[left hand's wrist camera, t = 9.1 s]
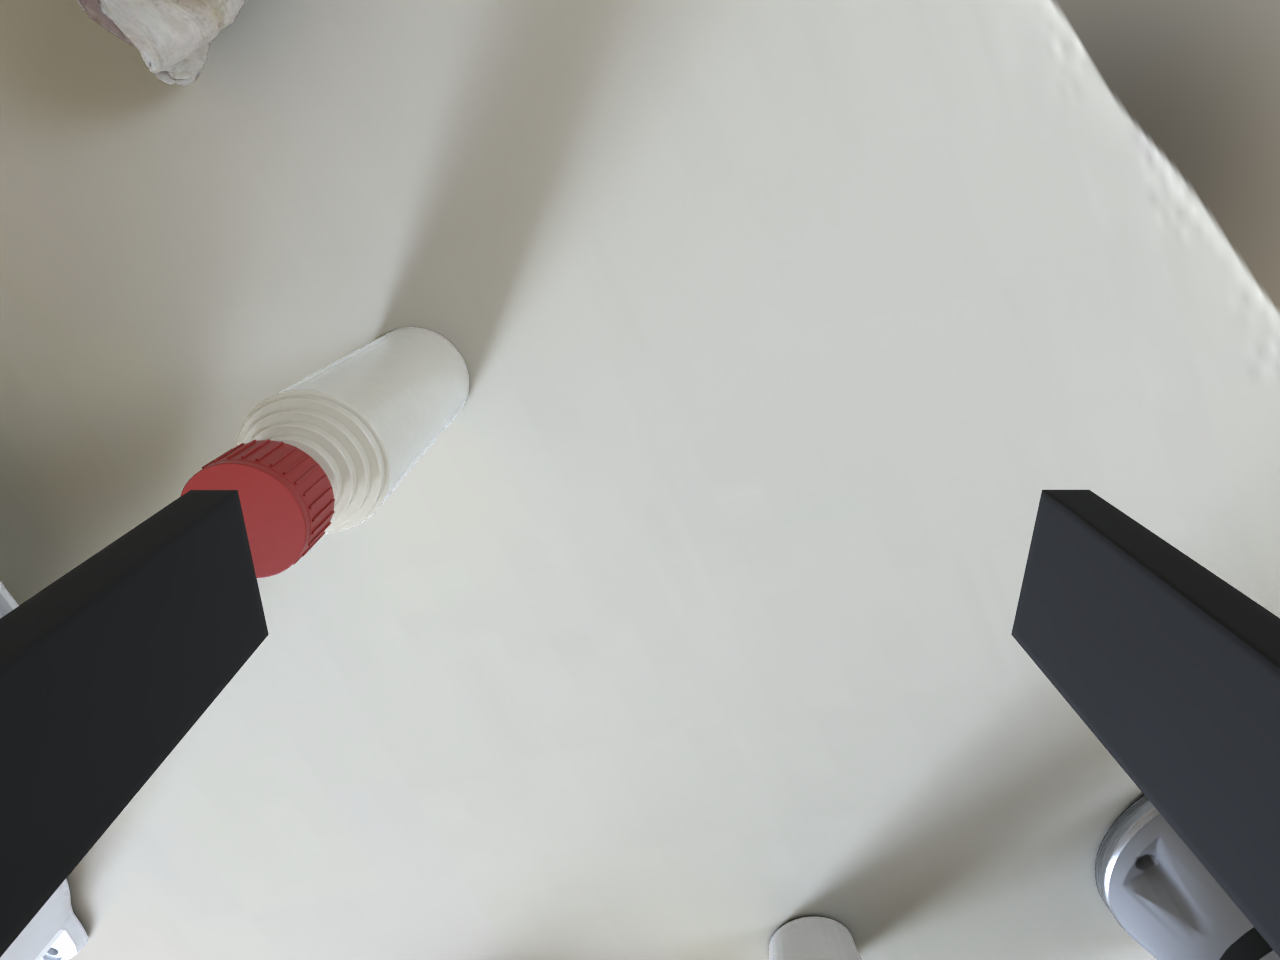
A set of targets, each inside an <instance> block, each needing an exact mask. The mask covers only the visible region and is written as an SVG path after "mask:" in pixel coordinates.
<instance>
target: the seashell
mask: <svg viewBox="0 0 1280 960" xmlns="http://www.w3.org/2000/svg"><path fill="white" fill-rule="evenodd" d="M77 1H78V3H79V5H80V6H81V7H82V8H83V10H84V11H85V12H86V13H87V14H88V15H89V17H90V18H92V19H93V20H94V21H96V22H97V23H98V24H100V25H101V26H102V27H104V28H105V29H106V30H108V31H110V32H111V33H113V34H115V35H116V36H118V37H119V38H121V39H123V40H124V41H126V42H128V43H129V44H131V45H132V46H134V47H136V48H137V49H138V50H139V52H140V54H141V56H142V59H143V60H144V62H145V63H146V65H147V66H148V68H149V69H150V72H153V74H154V75H155V76H156V77H157V78H158V79H159V80H161V81H163V82H165V83H167V84H169V85H172V84H174V83H175V84H178V85H180V86H185V85H188V84H190V83H192V82H194V81H195V80H196V79H197V78H198V76H199V74H200V72H201V70H202V66H203V65H204V63H205V62H206V58H207V54H208V49H209V45H210V42H211V41H212V40H213V39H214V38H215V37H216V36H217V35H218V34H219V33H220V31H221V30H223V29H224V28H226V27H227V26H229V25H230V24H232V22H233V21H234V19H235V17H236V16H237V14H238V12H239V11H240V9H241V7H242V6H243V4H244V2H245V1H246V0H77Z"/></svg>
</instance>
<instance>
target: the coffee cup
mask: <svg viewBox="0 0 1280 960" xmlns="http://www.w3.org/2000/svg"><path fill="white" fill-rule="evenodd" d="M769 960H861V958H860V955H859V953H858V950H857V948H856V946H855V943H854V941H853V938H852V936H851V934H850V932H849V931H848V929H847V928H846V927H845V926H843V925H842V924H841V923H839V922H837V921H835V920H832V919H829V918H825V917H803V918H799V919H796V920H793V921H791V922H788V923H786V924H785V925H783V926H782V927H780V928H779V929H778V930H777V931H776V932H775V934H774V935H773V937H772V938H771V941H770V943H769Z"/></svg>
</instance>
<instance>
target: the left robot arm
mask: <svg viewBox="0 0 1280 960" xmlns="http://www.w3.org/2000/svg"><path fill="white" fill-rule="evenodd" d="M267 636H268V630H267V626H266V621H265V616H264V611H263V607H262V602H261V597H260V593H259V588H258V583H257V578H256V574H255V569H254V564H253V560H252V555H251V550H250V545H249V541H248V536H247V531H246V527H245V522H244V517H243V513H242V508H241V503H240V498H239V494H238V490H190V491H188V492H187V493H185V494H184V495H183V496H181V497H180V498H178V499H177V500H175V501H174V502H172V503H171V504H169V505H168V506H166V507H165V508H163V509H162V510H160V511H159V512H157V513H156V514H154V515H153V516H151V517H150V518H148V519H147V520H145V521H144V522H143V523H141V524H140V525H138V526H137V527H135V528H134V529H132V530H131V531H129V532H128V533H126V534H125V535H123V536H122V537H120V538H119V539H117V540H116V541H114V542H113V543H111V544H110V545H108V546H107V547H105V548H104V549H103V550H101V551H100V552H98V553H97V554H95V555H94V556H92V557H91V558H89V559H88V560H86V561H85V562H83V563H82V564H80V565H79V566H77V567H76V568H74V569H73V570H71V571H70V572H68V573H67V574H65V575H64V576H63V577H61V578H60V579H58V580H57V581H55V582H54V583H52V584H51V585H49V586H48V587H46V588H45V589H43V590H42V591H40V592H39V593H37V594H36V595H34V596H33V597H31V598H30V599H28V600H27V601H25V602H24V603H23V604H21V605H20V606H18V607H17V608H15V609H14V610H12V611H11V612H9V613H8V614H6V615H5V616H3V617H2V618H0V957H1V956H2V955H3V954H4V953H5V951H6V950H7V949H8V948H9V947H10V945H11V944H12V943H13V942H14V940H15V939H16V938H17V937H18V936H19V934H20V933H21V932H22V931H23V930H24V928H25V927H26V926H27V925H28V924H29V922H30V921H31V920H32V919H33V918H34V916H35V915H36V914H37V913H38V912H39V910H40V909H41V908H42V907H43V906H44V904H45V903H46V902H47V901H48V900H49V898H50V897H51V896H52V895H53V893H54V892H55V891H56V890H57V889H58V887H59V886H60V885H61V884H62V883H63V881H64V880H65V879H66V878H67V877H68V875H69V874H70V873H71V872H72V871H73V869H74V868H75V867H76V866H77V865H78V863H79V862H80V861H81V860H82V859H83V857H84V856H85V855H86V854H87V853H88V851H89V850H90V849H91V848H92V846H93V845H94V844H95V843H96V842H97V840H98V839H99V838H100V837H101V836H102V834H103V833H104V832H105V831H106V830H107V828H108V827H109V826H110V825H111V824H112V822H113V821H114V820H115V819H116V818H117V816H118V815H119V814H120V813H121V812H122V810H123V809H124V808H125V807H126V806H127V804H128V803H129V802H130V801H131V799H132V798H133V797H134V796H135V795H136V793H137V792H138V791H139V790H140V789H141V787H142V786H143V785H144V784H145V783H146V781H147V780H148V779H149V778H150V777H151V775H152V774H153V773H154V772H155V771H156V769H157V768H158V767H159V766H160V765H161V763H162V762H163V761H164V760H165V759H166V757H167V756H168V755H169V754H170V752H171V751H172V750H173V749H174V748H175V746H176V745H177V744H178V743H179V742H180V740H181V739H182V738H183V737H184V736H185V734H186V733H187V732H188V731H189V730H190V728H191V727H192V726H193V725H194V724H195V722H196V721H197V720H198V719H199V718H200V716H201V715H202V714H203V713H204V712H205V710H206V709H207V708H208V707H209V705H210V704H211V703H212V702H213V701H214V699H215V698H216V697H217V696H218V695H219V693H220V692H221V691H222V690H223V689H224V687H225V686H226V685H227V684H228V683H229V681H230V680H231V679H232V678H233V677H234V675H235V674H236V673H237V672H238V671H239V669H240V668H241V667H242V666H243V665H244V663H245V662H246V661H247V660H248V658H249V657H250V656H251V655H252V654H253V652H254V651H255V650H256V649H257V648H258V646H259V645H260V644H261V643H262V642H263V640H264V639H265V638H266V637H267ZM1012 636H1013V637H1014V638H1015V639H1016V640H1017V642H1018V643H1019V644H1020V645H1021V646H1022V648H1023V649H1024V650H1025V651H1026V652H1027V654H1028V655H1029V656H1030V657H1031V658H1032V660H1033V661H1034V662H1035V663H1036V665H1037V666H1038V667H1039V668H1040V669H1041V671H1042V672H1043V673H1044V674H1045V675H1046V677H1047V678H1048V679H1049V680H1050V681H1051V683H1052V684H1053V685H1054V686H1055V687H1056V689H1057V690H1058V691H1059V692H1060V693H1061V695H1062V696H1063V697H1064V698H1065V699H1066V701H1067V702H1068V703H1069V704H1070V705H1071V707H1072V708H1073V709H1074V710H1075V712H1076V713H1077V714H1078V715H1079V716H1080V718H1081V719H1082V720H1083V721H1084V722H1085V724H1086V725H1087V726H1088V727H1089V728H1090V730H1091V731H1092V732H1093V733H1094V734H1095V736H1096V737H1097V738H1098V739H1099V740H1100V742H1101V743H1102V744H1103V745H1104V746H1105V748H1106V749H1107V750H1108V751H1109V752H1110V754H1111V755H1112V756H1113V757H1114V759H1115V760H1116V761H1117V762H1118V763H1119V765H1120V766H1121V767H1122V768H1123V769H1124V771H1125V772H1126V773H1127V774H1128V775H1129V777H1130V778H1131V779H1132V780H1133V781H1134V783H1135V784H1136V785H1137V786H1138V787H1139V789H1140V790H1141V791H1142V792H1143V793H1144V796H1143V797H1141V798H1140V799H1139V800H1137V801H1136V802H1135V803H1134V804H1132V805H1131V806H1130V807H1129V808H1128V809H1127V810H1126V811H1125V812H1124V813H1123V814H1122V815H1121V816H1120V817H1119V818H1118V819H1117V820H1116V821H1115V823H1114V824H1113V825H1112V826H1111V828H1110V829H1109V831H1108V832H1107V834H1106V836H1105V837H1104V839H1103V841H1102V843H1101V845H1100V848H1099V851H1098V854H1097V858H1096V864H1095V878H1096V884H1097V887H1098V890H1099V893H1100V895H1101V897H1102V899H1103V900H1104V902H1105V903H1106V905H1107V906H1108V908H1109V909H1110V911H1111V912H1112V914H1113V916H1114V917H1115V919H1116V920H1117V921H1118V923H1119V924H1120V925H1121V926H1122V928H1123V929H1124V930H1125V931H1126V932H1127V933H1128V934H1129V935H1130V936H1131V937H1132V938H1133V939H1134V940H1135V941H1137V942H1138V943H1139V944H1140V945H1141V946H1142V947H1144V948H1145V949H1146V950H1147V951H1148V952H1149V953H1150V954H1152V955H1153V956H1154V957H1155V958H1156V959H1157V960H1280V618H1278V617H1277V616H1275V615H1274V614H1272V613H1271V612H1269V611H1268V610H1266V609H1265V608H1263V607H1262V606H1260V605H1259V604H1257V603H1256V602H1255V601H1253V600H1252V599H1250V598H1249V597H1247V596H1246V595H1244V594H1243V593H1241V592H1240V591H1238V590H1237V589H1235V588H1234V587H1232V586H1231V585H1229V584H1228V583H1226V582H1225V581H1223V580H1222V579H1220V578H1219V577H1217V576H1216V575H1215V574H1213V573H1212V572H1210V571H1209V570H1207V569H1206V568H1204V567H1203V566H1201V565H1200V564H1198V563H1197V562H1195V561H1194V560H1192V559H1191V558H1189V557H1188V556H1186V555H1185V554H1183V553H1182V552H1180V551H1179V550H1177V549H1176V548H1175V547H1173V546H1172V545H1170V544H1169V543H1167V542H1166V541H1164V540H1163V539H1161V538H1160V537H1158V536H1157V535H1155V534H1154V533H1152V532H1151V531H1149V530H1148V529H1146V528H1145V527H1143V526H1142V525H1140V524H1139V523H1137V522H1136V521H1135V520H1133V519H1132V518H1130V517H1129V516H1127V515H1126V514H1124V513H1123V512H1121V511H1120V510H1118V509H1117V508H1115V507H1114V506H1112V505H1111V504H1109V503H1108V502H1106V501H1105V500H1103V499H1102V498H1100V497H1099V496H1097V495H1096V494H1095V493H1093V492H1092V491H1090V490H1042V494H1041V498H1040V503H1039V508H1038V512H1037V517H1036V522H1035V527H1034V531H1033V536H1032V541H1031V545H1030V550H1029V555H1028V560H1027V564H1026V569H1025V574H1024V578H1023V583H1022V588H1021V593H1020V597H1019V602H1018V607H1017V611H1016V616H1015V621H1014V625H1013V630H1012Z"/></svg>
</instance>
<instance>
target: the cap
mask: <svg viewBox="0 0 1280 960" xmlns="http://www.w3.org/2000/svg"><path fill="white" fill-rule="evenodd" d="M190 490H238V494H239V498H240V503H241V508H242V513H243V517H244V522H245V527H246V531H247V536H248V541H249V545H250V550H251V555H252V560H253V564H254V569H255V574H256V578H264V577H269V576H273V575H276V574H278V573H281V572H283V571H284V570H286V569H287V568H289V567H290V566H291V565H292V564H295V563H296V562H297V561H298V560H299V559H300V558H301V557H302V556H304V555H305V554H306V553H307V552H308V551H309V550H310V549H311V547H312V546H313V545H314V544H315V543H316V542H317V541H318V540H319V539H320V538H321V537H322V536H323V535H324V534H325V532H324V531H325V530H326V529H327V528H328V527H329V526H330V525H331V522H330V521H331V519H332V516H333V514H334V512H335V511H334V502H335V499H334V494H333V488H332V486H331V483H330V481H329V479H328V476H327V475H326V473H325V472H324V470H323V469H322V468H321V466H320V465H319V464H318V463H317V462H316V461H315V460H314V459H313V458H312V457H311V456H309V455H308V454H307V453H305V452H304V451H302V450H300V449H299V448H297V447H295V446H292V445H290V444H287V443H284V442H282V441H281V442H279V441H273V440H270V439H267V440H258V441H256V440H253V441H251V442H249V443H246V444H244V443H241V444H240V445H238V446H236V447H235V448H233V449H231V450H229V451H227V452H226V453H224V454H223V455H221V456H219V457H218V458H216V459H215V460H213V461H211V462H210V463H208V464H206V465H205V466H203V467H202V470H201V471H199V472H198V473H196V474H195V475H194V476H193V477H192V478H191V479H190V480H189V481H188V482H187V484H186V485H185V487H184V489H183V491H182V493H181V496H183V495H184V494H185V493H187V492H188V491H190ZM181 496H180V497H181Z"/></svg>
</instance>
